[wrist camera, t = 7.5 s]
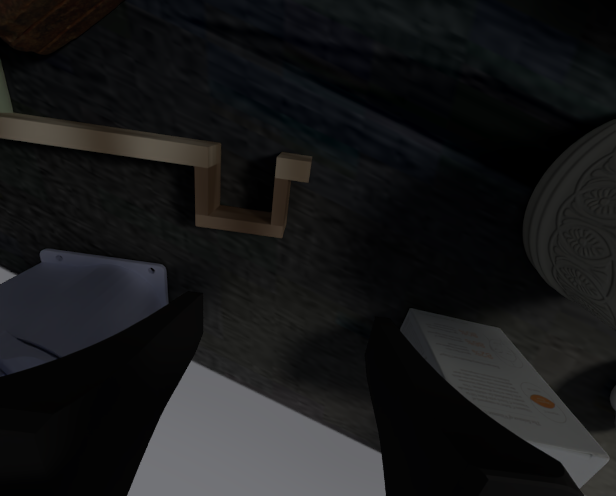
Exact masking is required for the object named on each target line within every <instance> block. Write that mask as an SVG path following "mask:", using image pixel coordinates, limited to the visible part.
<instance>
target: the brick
mask: <svg viewBox="0 0 616 496" xmlns="http://www.w3.org/2000/svg"><path fill="white" fill-rule="evenodd" d="M123 1H124V0H0V38H1V39H2V40H3V41H4V42H6V43H7V44H9V46H11V47H12V48H13V49H16V50H19V51H24V52H30V51H32V52H35V53H37V54H41V55H49V54H51V53H53V52H55V51H56V50H58V49H59V48H61V47H63V46H64V45H66V44H67V43H68V42H70V41H71V40H73V39H75V38H77V37H79V36H80V35H81V34H83V33H84V32H85V31H86V30H88V29H89V28H90V27H91V26H93V25H94V24H95V23H97V22H98V21H100V20H101V19H102V18H103V17H105V16H106V15H107V14H109V13H110V12H111V11H112V10H114V9H115V8H116V7H117V6H118V5H119V4H120V3H121V2H123Z"/></svg>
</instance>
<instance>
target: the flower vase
mask: <svg viewBox="0 0 616 496" xmlns="http://www.w3.org/2000/svg"><path fill="white" fill-rule="evenodd" d="M610 404H611V406H612V407H613V409H614V410H615V416H614V422H615V428H616V385H615V386H614V388H613V389H612V391H611V394H610Z"/></svg>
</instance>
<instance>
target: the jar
mask: <svg viewBox="0 0 616 496" xmlns="http://www.w3.org/2000/svg"><path fill="white" fill-rule="evenodd" d="M522 235H523V243H524V248H525V251H526V254H527V256H528V258H529V260H530V262H531V264H532V265H533V266H534V268H535V269H536V270H537V271H538V273H539V274H540V276H541V277H542V278H543V279H544V280H545V282H546V283H548V284H549V285H550V286H551V287H552V288H554V289H555V290H556V291H557V292H559V293H560V294H561V295H563V296H564V297H566V298H567V299H569V300H571V301H573V302H575V303H578V304H580V305H581V306H582V307H584V308H585V309H587V310H588V311H589V312H591V313H592V314H593V315H595V316H596V317H597V318H599V319H600V320H601V321H603V322H604V323H606V324H607V325H608V326H610V327H611V328H612V329H614V330H615V331H616V119H613V120H611V121H609V122H607V123H605V124H603V125H601V126H599V127H597V128H595V129H594V130H592V131H590V132H589V133H587V134H586V135H584V136H583V137H581V138H580V139H579V140H577V141H576V142H575V143H573V144H572V145H571V146H570V147H569V148H568V149H566V150H565V151H564V152H563V153H562V154H561V155H560V156H559V157H558V158H557V159H556V160H555V161H554V162H553V164H552V165H551V166H550V167H549V168H548V170H547V171H546V172H545V173H544V175H543V176H542V178H541V179H540V181H539V182H538V184H537V186H536V187H535V189H534V191H533V193H532V195H531V197H530V200H529V202H528V205H527V208H526V211H525V215H524V220H523V234H522Z"/></svg>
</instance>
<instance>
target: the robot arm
mask: <svg viewBox="0 0 616 496" xmlns="http://www.w3.org/2000/svg"><path fill="white" fill-rule="evenodd" d="M60 256H61V257H62V258H61V257H60ZM40 258H41V263H39V264H37V265H36V266H34V267H32V268H30V269H28V270H26V271H24V272H23V273H21V274H19V275H17V276H15V277H13V278H11V279H9V280H8V281H6V282H4V283H2V284H0V496H127V494H128V492H129V489H130V487H131V484H132V482H133V479H134V477H135V474H136V472H137V469H138V467H139V465H140V462H141V460H142V458H143V455H144V453H145V450H146V448H147V446H148V443H149V441H150V439H151V437H152V434H153V432H154V430H155V427H156V425H157V423H158V421H159V418H160V416H161V414H162V412H163V410H164V408H165V406H166V405H167V403H168V401H169V399H170V397H171V395H172V394H173V392H174V390H175V388H176V387H177V385H178V383H179V381H180V380H181V378H182V376H183V374H184V373H185V371H186V369H187V367H188V365H189V363H190V362H191V360H192V358H193V356H194V354H195V352H196V350H197V347H198V345H199V342H200V340H201V337H202V335H203V293H197V292H190V291H188V292H186V293H184V294H183V295H181V296H180V297H178V298H176V299H175V300H173V301H172V302H170V303H169V302H168V286H167V271H166V268H165V266H163V265H162V264H157V263H150V262H143V261H135V260H128V259H121V258H114V257H106V256H99V255H92V254H84V253H77V252H70V251H63V250H55V249H44V250H42V251H41V252H40ZM151 268H153V269H154V270H155V271H152V270H151ZM365 361H366V373H367V380H368V385H369V390H370V395H371V400H372V404H373V409H374V414H375V418H376V423H377V428H378V432H379V438H380V444H381V453H382V461H383V470H384V480H385V490H386V496H584V495H583V494H582V492H581V491H580V489H579V488H578V486H577V485H576V483H575V482H574V481H573V479H572V478H571V476H570V475H569V473H568V472H567V470H566V469H565V467H564V466H563V465H562V463H561V462H560V461H558V460H556V459H555V458H553V457H551V456H550V455H548V454H546V453H545V452H543V451H542V450H540V449H538V448H537V447H535V446H533V445H532V444H530V443H528V442H527V441H525V440H523V439H522V438H520V437H519V436H517V435H516V434H514V433H513V432H511V431H510V430H508V429H507V428H505V427H504V426H502V425H501V424H500V423H498V422H497V421H495V420H494V419H493V418H491V417H490V416H488V415H487V414H486V413H484V412H483V411H482V410H481V409H479V408H478V407H477V406H475V405H474V404H473V403H472V402H470V401H469V400H468V399H467V398H465V397H464V396H463V395H462V394H461V393H459V392H458V391H457V390H456V389H455V388H454V387H453V386H452V385H450V384H449V383H448V382H447V381H446V380H445V379H444V378H443V377H442V376H441V375H440V374H439V373H438V372H437V371H436V370H435V369H434V368H433V367H432V366H431V365H430V364H429V363H428V362H427V361H426V360H425V359H424V358H423V357H422V356H421V354H420V353H419V352H418V351H417V350H416V349H415V348H414V347H413V345H412V344H411V343H410V342H409V341H408V340H407V338H406V337H405V336H404V335H403V334H402V332H401V331H400V330H399V329H398V328H397V326H396V325H395V324H394V323H393V322H392V320H391V319H389V318H381V317H375V320H374V324H373V327H372V331H371V334H370V338H369V342H368V345H367V349H366V352H365Z"/></svg>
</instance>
